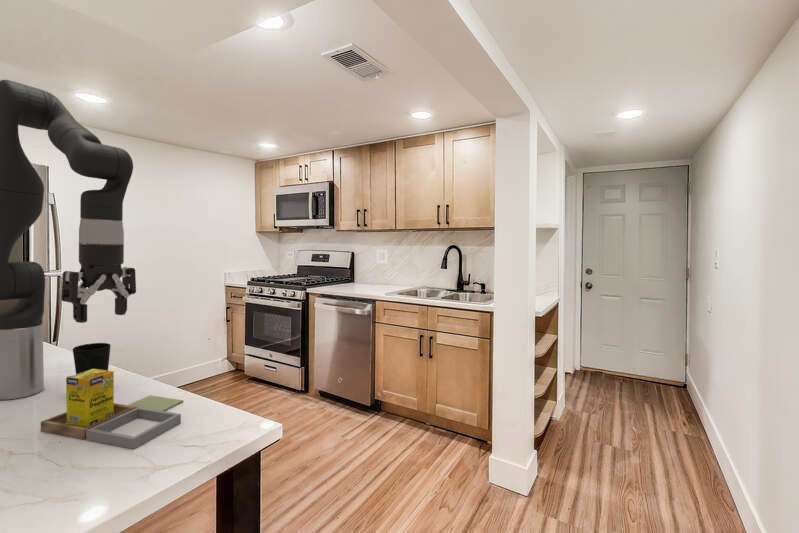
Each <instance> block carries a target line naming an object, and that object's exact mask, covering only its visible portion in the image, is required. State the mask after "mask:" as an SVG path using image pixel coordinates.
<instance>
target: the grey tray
mask: <svg viewBox="0 0 799 533" xmlns="http://www.w3.org/2000/svg"><path fill="white" fill-rule="evenodd" d="M181 415H182V414H181V413H177V412H169V411H159V410H153V409H146V408H140V407H137V408H135V409H133V410H130V411H128V412H126V413H124V414H122V415H119V416H117V417H115V418H113V419H110V420H108V421H106V422H104V423H101V424H99V425H97V426H95V427H93V428H90V429H88V430H86V440H85V441H89V442H94V443H95V442H96V443H99V444H104V443H105V445H109V444H111V445H110V446H114V445H115V446H116V447H120V448H125V449H132V450H135V449H137V448H139V447H140V446H142V445H144V444H145V443H147V442H150V441H151V440H152V439H154V438H156V437H158V436H160V435H162V434H164V433H165V432H167V431H169V430H170V429H172V428H174V427H176V426H177V425H180V424H181V423H182V416H181ZM136 419H144V420H148V421H149V420H150V421H154V420H156V422H158V424H155V425H153V426H151V427H149V428H147V429H146V430H144V431H142V432H140V433H138V434H136V435H133V436H132V435H127V434H123V433H117V432H111V431H113V430H115V429H117V428H119V427H121V426H124V425H126V424H128V423H129V422H132V421H134V420H136ZM160 421H161V422H160ZM115 446H114V447H115Z"/></svg>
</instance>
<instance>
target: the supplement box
mask: <svg viewBox="0 0 799 533" xmlns="http://www.w3.org/2000/svg"><path fill="white" fill-rule="evenodd" d="M114 372H115V371H113V370H108V371H107V370H99V369H91V370H89V371H85V372H82V373H79V374H76V373H75V374H73V375H68V376H66V377H65V381H66V384H65V386H66V389H65V392H66V393H65V394H66V398H65V399H66V400H65V401H66V410H65V411H66V412H67V423H66V424H69V425H74V426H79V427H85V428H86V427H88V426H91V425H93V424H95V423H97V422H100V421H102V420H104V419H106V418H109V417H111V416H113V415H115V414H114V400H115V399H114V398H115V397H114V396H115V394H114V387H115V386H114Z"/></svg>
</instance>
